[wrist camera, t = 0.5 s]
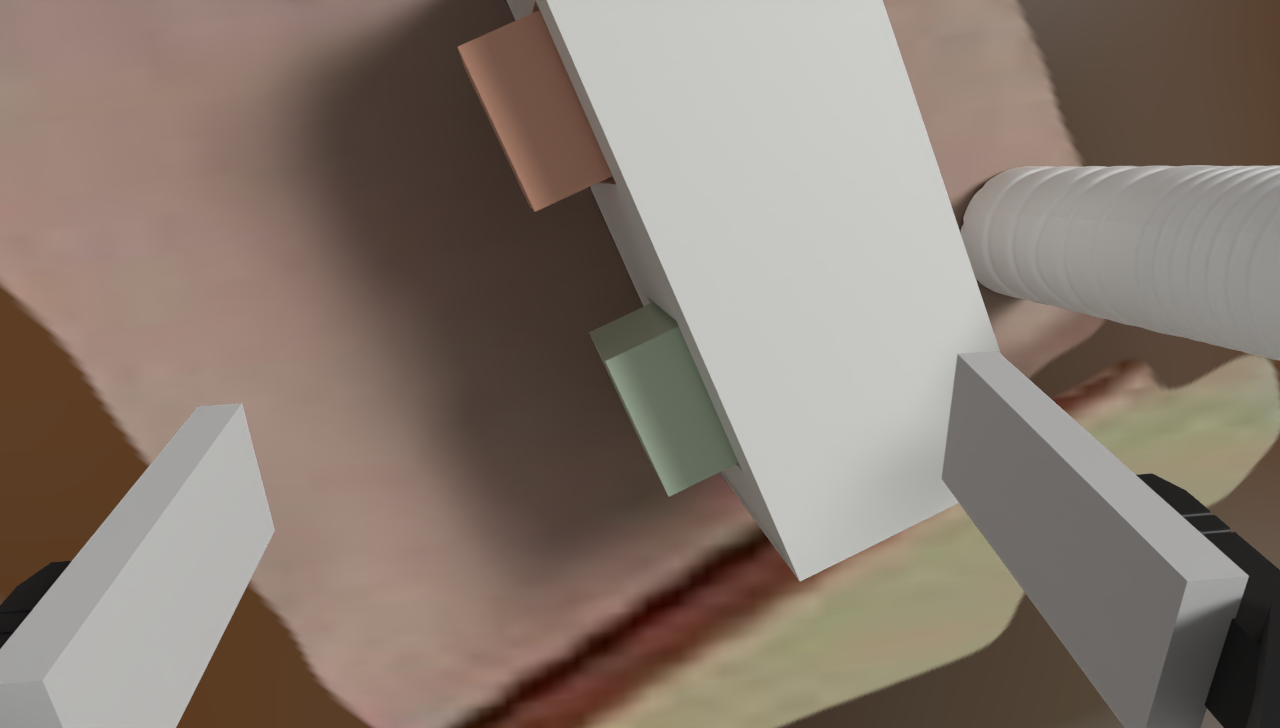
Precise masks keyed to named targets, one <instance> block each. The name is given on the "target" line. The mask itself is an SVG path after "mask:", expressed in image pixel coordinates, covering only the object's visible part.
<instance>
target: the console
mask: <svg viewBox="0 0 1280 728" xmlns="http://www.w3.org/2000/svg"><path fill="white" fill-rule="evenodd" d="M506 1H507V3H508V5H509V8H510V10H511V12H512V14H513V16H514V19H515V21H516V20H518V19H520V18H523V17H525V16H527V15H529V14H532V13H534V12H536V11H538V10H540V12H541V14H542V16H543V19H544V21H545V23H546V25H547V28H548V30H549V32H550V35H551V37H552V39H553V41H554V44H555V46H556V48H557V50H558V53H559V55H560V57H561V60H562V62H563V64H564V66H565V69H566V71H567V73H568V75H569V78H570V80H571V82H572V85H573V87H574V89H575V91H576V94H577V96H578V98H579V101H580V103H581V105H582V107H583V110H584V112H585V114H586V116H587V119H588V121H589V123H590V126H591V128H592V130H593V132H594V135H595V137H596V139H597V142H598V144H599V146H600V148H601V151H602V153H603V155H604V157H605V160H606V162H607V164H608V167H609V169H610V171H611V173H612V177H610V178H608V179H605V180H603V181H601V182H599V183H597V184H595V185H592V186H590V188H591V191H592V193H593V195H594V197H595V199H596V202H597V204H598V206H599V208H600V211H601V213H602V215H603V217H604V220H605V222H606V224H607V226H608V228H609V231H610V233H611V235H612V237H613V240H614V242H615V244H616V246H617V249H618V251H619V253H620V255H621V258H622V260H623V262H624V264H625V266H626V269H627V271H628V273H629V275H630V278H631V280H632V282H633V284H634V287H635V289H636V291H637V293H638V295H639V298H640V300H641V302H642V304H643V307H644V306H646V305H648V304H650V303H652V302H654V303H655V304H657V305H658V306H659V307H660V308H661V309H663V310H664V311H665V312H666V313H667V314H669V315H670V316H671V317H672V318H673V319H675V320H676V321H677V324H678V326H679V328H680V330H681V333H682V335H683V337H684V340H685V342H686V344H687V346H688V349H689V351H690V353H691V356H692V358H693V360H694V362H695V365H696V367H697V369H698V371H699V374H700V376H701V378H702V381H703V383H704V385H705V387H706V390H707V392H708V394H709V396H710V399H711V401H712V403H713V406H714V408H715V410H716V412H717V415H718V417H719V419H720V422H721V424H722V426H723V428H724V431H725V433H726V435H727V437H728V440H729V442H730V444H731V447H732V449H733V451H734V453H735V456H736V458H737V460H738V464H736V465H734V466H732V467H729V468H727V469H725V470H723V471H721V472H720V474H721V475H722V477H723V478H724V479H725V481H726V482H727V483H728V485H729V486H730V487H731V489H732V490H733V491H734V493H735V494H736V496H737V497H738V498H739V500H740V501H741V502H742V504H743V505H744V506H745V508H746V509H747V510H748V512H749V513H750V514H751V516H752V517H753V519H754V520H755V521H756V523H757V524H758V525H759V527H760V528H761V529H762V531H763V532H764V533H765V535H766V536H767V538H768V539H769V540H770V542H771V543H772V544H773V546H774V547H775V548H776V550H777V551H778V552H779V554H780V555H781V557H782V558H783V559H784V561H785V562H786V563H787V565H788V566H789V567H790V569H791V570H792V571H793V573H794V574H795V576H796V577H797V578H798V580H799V581H802V580H804V579H806V578H808V577H810V576H812V575H814V574H816V573H818V572H820V571H822V570H824V569H826V568H828V567H830V566H832V565H834V564H836V563H838V562H840V561H842V560H844V559H846V558H848V557H850V556H852V555H854V554H856V553H859V552H861V551H863V550H865V549H867V548H869V547H871V546H873V545H875V544H877V543H879V542H881V541H883V540H885V539H887V538H889V537H891V536H893V535H895V534H897V533H899V532H901V531H903V530H905V529H907V528H909V527H911V526H913V525H915V524H917V523H919V522H921V521H923V520H925V519H927V518H929V517H931V516H933V515H935V514H937V513H939V512H941V511H943V510H945V509H947V508H949V507H951V506H953V505H955V504H957V503H959V502H958V501H957V499H956V498H955V496H954V495H953V494H952V492H951V491H950V490H949V488H948V487H947V486H946V484H945V483H944V481H943V480H942V471H943V463H944V455H945V448H946V440H947V432H948V424H949V416H950V409H951V401H952V393H953V385H954V377H955V370H956V362H957V354H962V353H976V352H991V351H998V352H999V353H1000V350H999V347H998V344H997V341H996V338H995V335H994V332H993V329H992V326H991V323H990V320H989V317H988V314H987V311H986V308H985V305H984V302H983V299H982V296H981V293H980V290H979V287H978V284H977V281H976V278H975V275H974V272H973V269H972V266H971V263H970V260H969V257H968V254H967V251H966V248H965V245H964V242H963V239H962V236H961V233H960V230H959V227H958V224H957V221H956V218H955V215H954V212H953V209H952V206H951V203H950V200H949V197H948V194H947V191H946V188H945V185H944V182H943V180H942V177H941V174H940V171H939V168H938V165H937V162H936V159H935V156H934V153H933V150H932V147H931V144H930V141H929V138H928V135H927V132H926V129H925V126H924V123H923V120H922V117H921V114H920V111H919V108H918V105H917V102H916V99H915V96H914V93H913V90H912V87H911V84H910V81H909V78H908V75H907V72H906V69H905V66H904V63H903V60H902V57H901V54H900V51H899V48H898V45H897V42H896V39H895V36H894V33H893V30H892V27H891V24H890V21H889V18H888V15H887V12H886V9H885V6H884V3H883V0H506ZM1000 354H1001V353H1000Z"/></svg>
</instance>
